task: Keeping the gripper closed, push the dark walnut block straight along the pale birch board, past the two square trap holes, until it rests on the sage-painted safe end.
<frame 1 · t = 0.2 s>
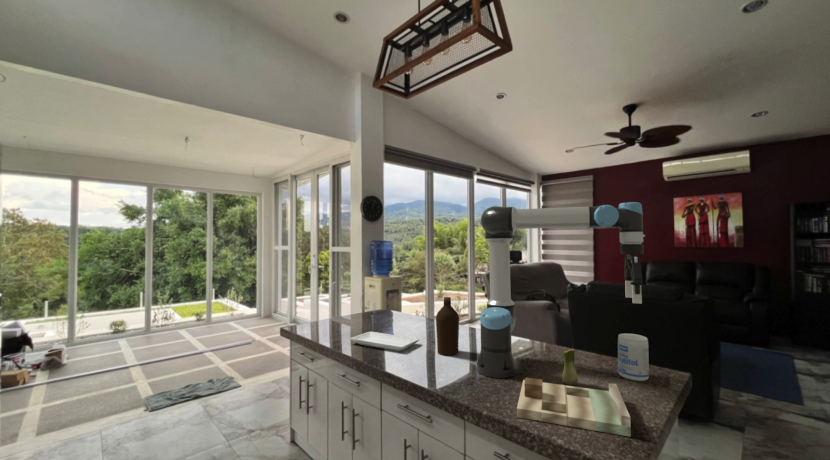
hand: (633, 300, 129), 28 cm above the worktop, tool pointing down, fingers open, 13 cm apart
supplement tub: (633, 377, 127), on the worktop
tray: (384, 345, 171), on the worktop
olive oil: (448, 353, 157), on the worktop
fennel bulb: (570, 385, 121), on the worktop
block: (533, 394, 107), point 2 cm above the worktop, touching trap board
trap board: (569, 408, 104), on the worktop
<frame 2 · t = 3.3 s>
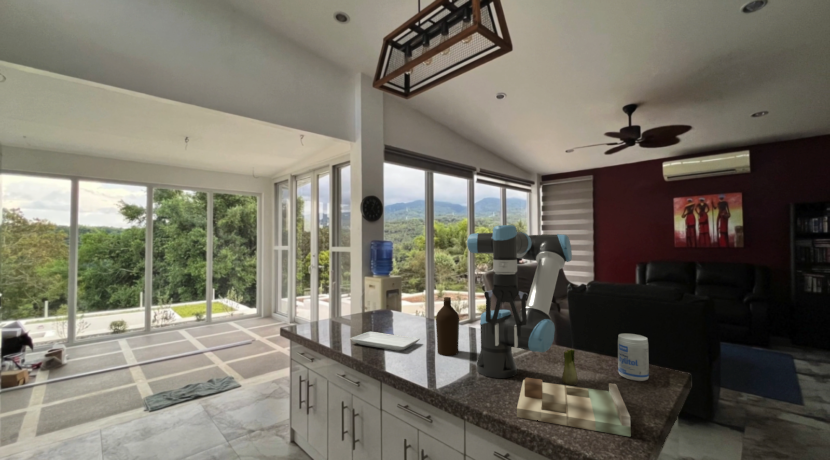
hand: (506, 345, 111), 17 cm above the worktop, tool pointing down, fingers open, 5 cm apart
nothing on the worktop moved.
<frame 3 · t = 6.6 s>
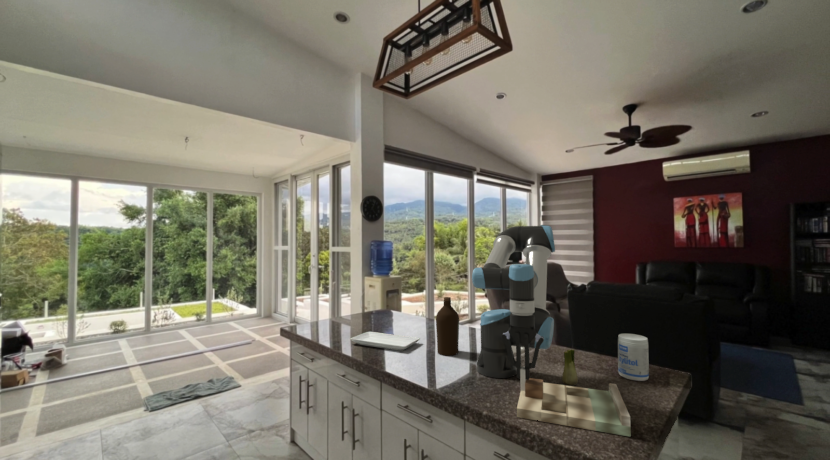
hand: (523, 389, 108), 4 cm above the worktop, tool pointing down, fingers closed
block: (534, 394, 107), point 3 cm above the worktop, touching gripper
everything else where it was.
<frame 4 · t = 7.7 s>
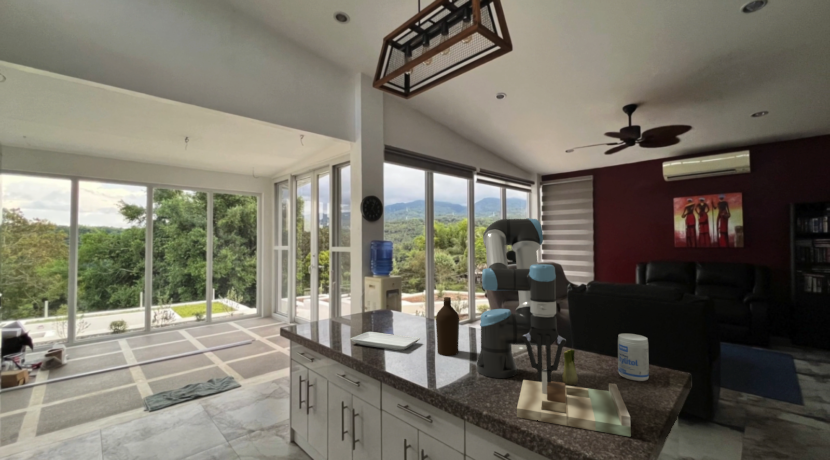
hand: (545, 392, 106), 4 cm above the worktop, tool pointing down, fingers closed
block: (556, 398, 105), point 3 cm above the worktop, touching gripper, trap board
everything else where it was.
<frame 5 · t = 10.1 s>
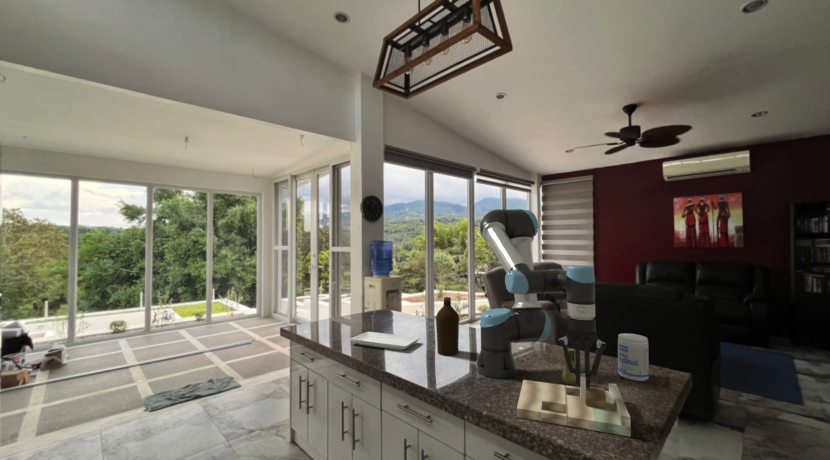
hand: (583, 397, 102), 4 cm above the worktop, tool pointing down, fingers closed
block: (595, 404, 101), point 2 cm above the worktop, touching gripper, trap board
everything else where it was.
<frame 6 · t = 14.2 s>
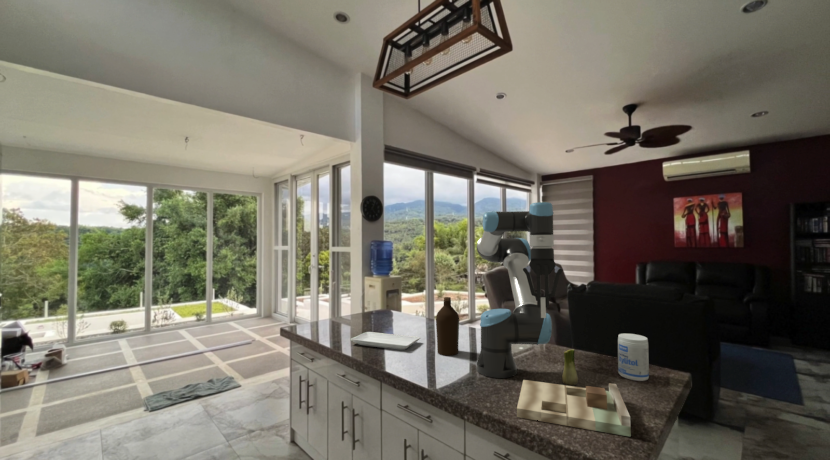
hand: (543, 317, 117), 24 cm above the worktop, tool pointing down, fingers closed
block: (596, 404, 101), point 2 cm above the worktop, touching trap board
at the end: block 1.2 cm from the target spot on the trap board, point 2.5 cm above the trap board's base; block tilted 0° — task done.
